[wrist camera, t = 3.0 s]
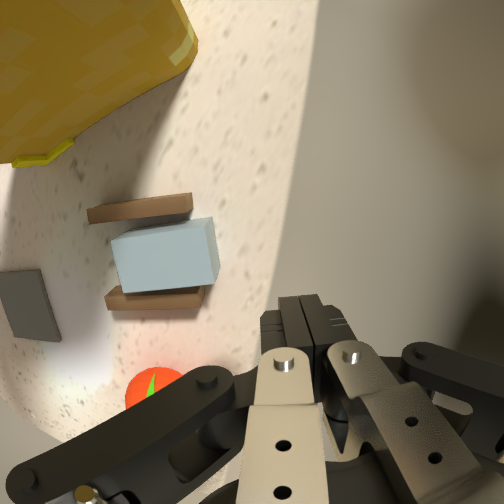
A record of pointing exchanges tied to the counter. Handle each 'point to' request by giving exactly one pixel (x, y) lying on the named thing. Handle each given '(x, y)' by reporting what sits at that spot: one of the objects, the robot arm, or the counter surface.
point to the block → (167, 256)
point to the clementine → (149, 384)
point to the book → (80, 66)
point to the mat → (28, 306)
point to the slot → (141, 209)
